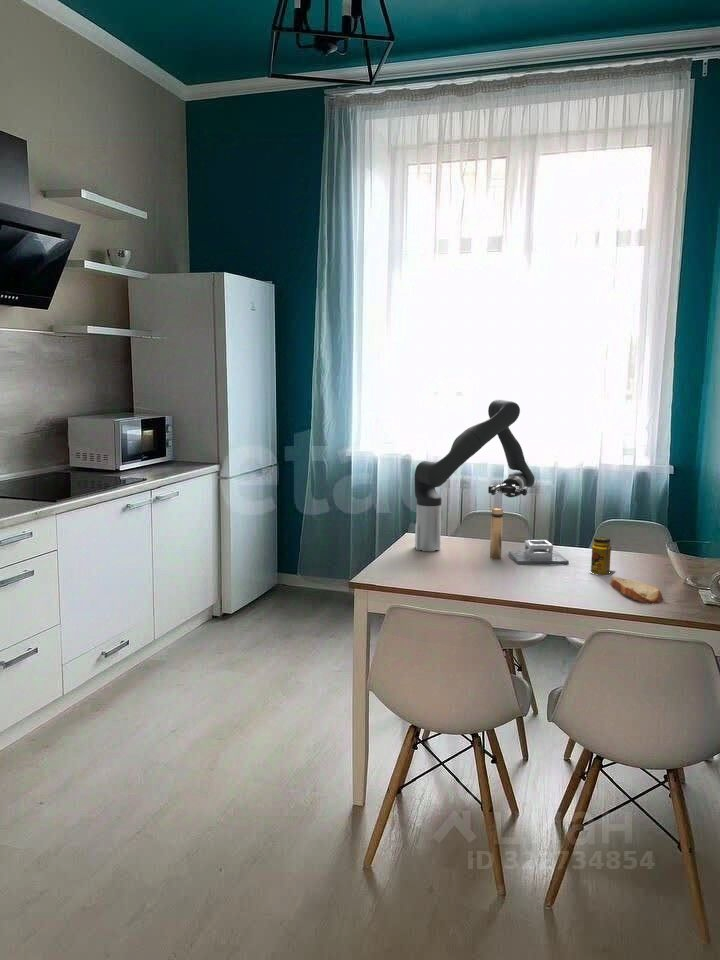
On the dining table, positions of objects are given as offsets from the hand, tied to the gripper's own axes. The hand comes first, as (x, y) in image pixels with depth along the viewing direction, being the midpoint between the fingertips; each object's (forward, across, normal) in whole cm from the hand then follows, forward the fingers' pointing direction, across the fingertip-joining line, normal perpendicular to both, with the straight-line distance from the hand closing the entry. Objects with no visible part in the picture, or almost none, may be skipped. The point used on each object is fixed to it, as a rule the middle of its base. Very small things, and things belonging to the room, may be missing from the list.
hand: (504, 493), depth 274 cm
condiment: (+15, +37, +23) cm, 46 cm away
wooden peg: (+11, 0, +22) cm, 25 cm away
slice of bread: (+35, +48, +23) cm, 64 cm away
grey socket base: (+7, +14, +22) cm, 27 cm away
